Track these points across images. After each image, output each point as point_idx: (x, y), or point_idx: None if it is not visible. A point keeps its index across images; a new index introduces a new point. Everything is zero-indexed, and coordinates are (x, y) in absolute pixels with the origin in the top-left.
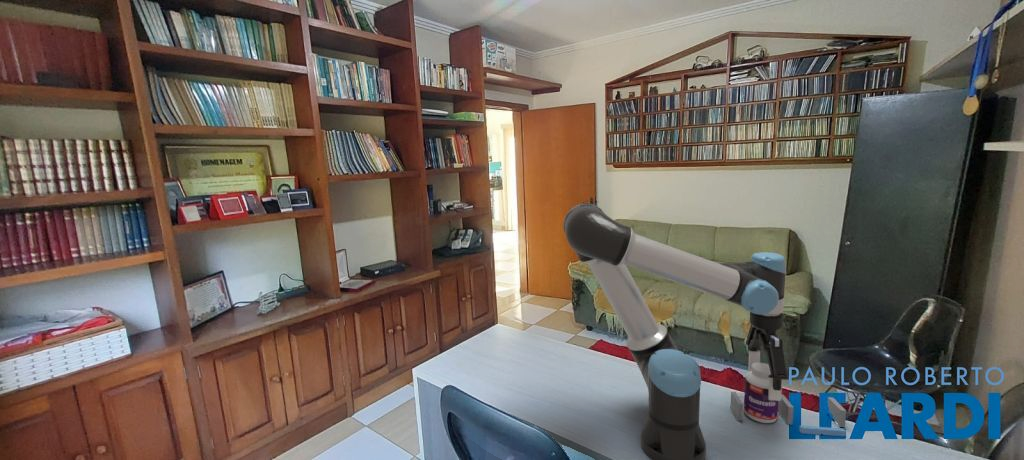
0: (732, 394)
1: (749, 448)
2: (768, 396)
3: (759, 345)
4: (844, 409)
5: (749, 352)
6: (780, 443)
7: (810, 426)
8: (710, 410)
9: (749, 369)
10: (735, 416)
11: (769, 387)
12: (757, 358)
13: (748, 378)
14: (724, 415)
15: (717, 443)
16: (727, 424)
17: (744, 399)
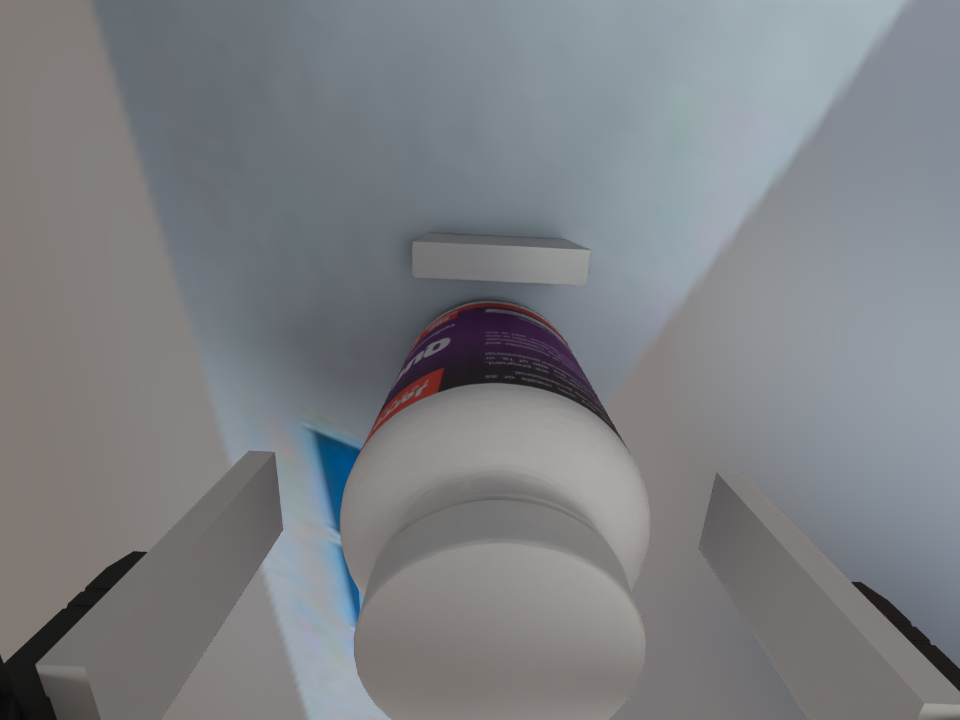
0: (553, 247)
1: (175, 199)
2: (258, 463)
3: None
4: None
5: (928, 684)
6: (262, 376)
7: None
8: (533, 87)
9: (737, 495)
10: (469, 235)
11: (181, 529)
12: (806, 677)
13: (471, 405)
14: (480, 168)
15: (167, 5)
16: (384, 152)
17: (513, 320)
